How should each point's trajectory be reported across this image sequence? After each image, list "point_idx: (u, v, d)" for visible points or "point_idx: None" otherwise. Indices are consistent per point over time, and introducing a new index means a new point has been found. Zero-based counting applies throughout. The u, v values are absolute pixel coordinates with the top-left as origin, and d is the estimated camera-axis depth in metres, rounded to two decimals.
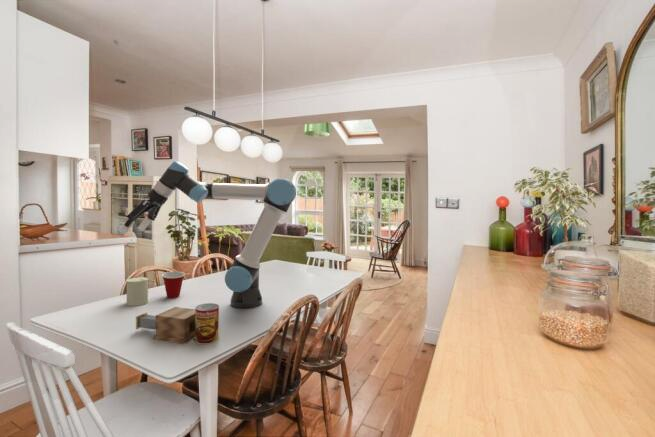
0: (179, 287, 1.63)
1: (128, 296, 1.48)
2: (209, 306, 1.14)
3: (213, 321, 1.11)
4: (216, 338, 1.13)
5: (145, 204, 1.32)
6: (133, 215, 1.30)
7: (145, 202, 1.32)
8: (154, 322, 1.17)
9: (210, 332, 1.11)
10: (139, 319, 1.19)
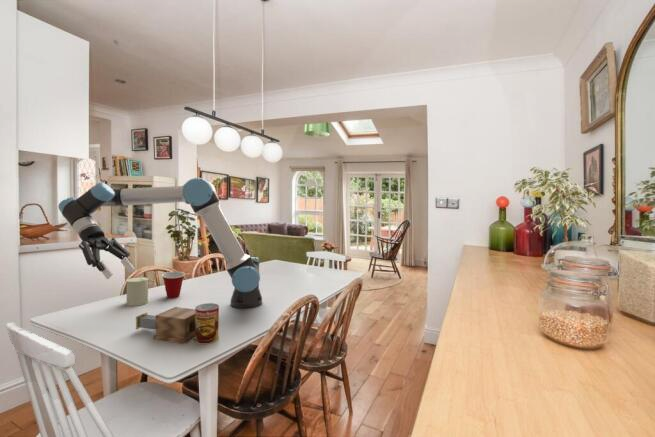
0: (179, 287, 1.63)
1: (128, 296, 1.48)
2: (209, 306, 1.14)
3: (213, 321, 1.11)
4: (216, 338, 1.13)
5: (82, 244, 1.18)
6: (88, 258, 1.15)
7: (81, 244, 1.18)
8: (154, 322, 1.17)
9: (210, 332, 1.11)
10: (139, 319, 1.19)
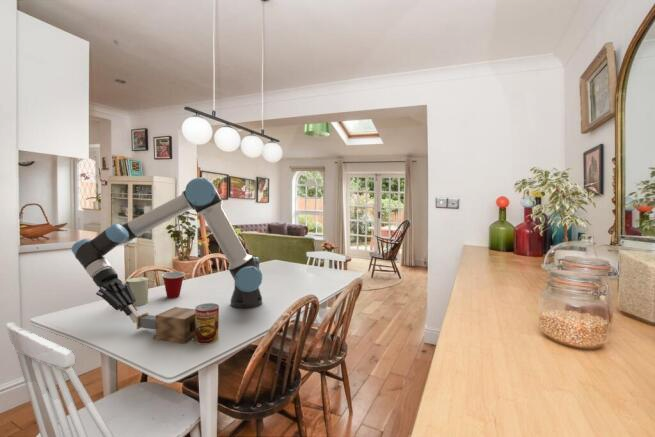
0: (179, 287, 1.63)
1: None
2: (209, 306, 1.14)
3: (213, 321, 1.11)
4: (216, 338, 1.13)
5: (102, 292, 1.17)
6: (115, 304, 1.17)
7: (99, 292, 1.16)
8: (155, 322, 1.17)
9: (210, 332, 1.11)
10: (140, 319, 1.18)
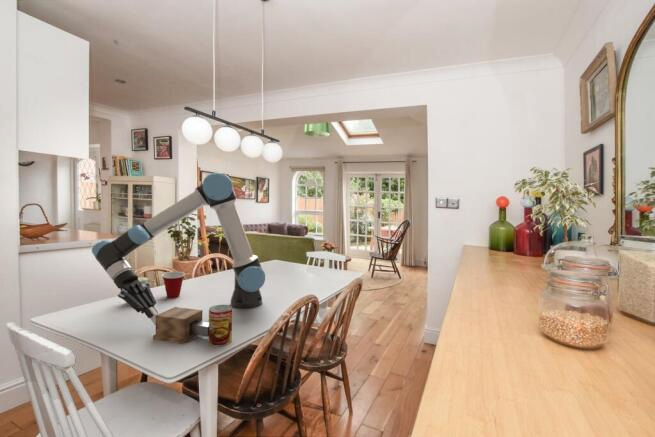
0: (179, 287, 1.63)
1: None
2: (222, 307, 1.13)
3: (227, 323, 1.10)
4: (229, 340, 1.12)
5: (123, 294, 1.15)
6: (137, 306, 1.16)
7: (121, 294, 1.15)
8: None
9: (224, 334, 1.09)
10: None
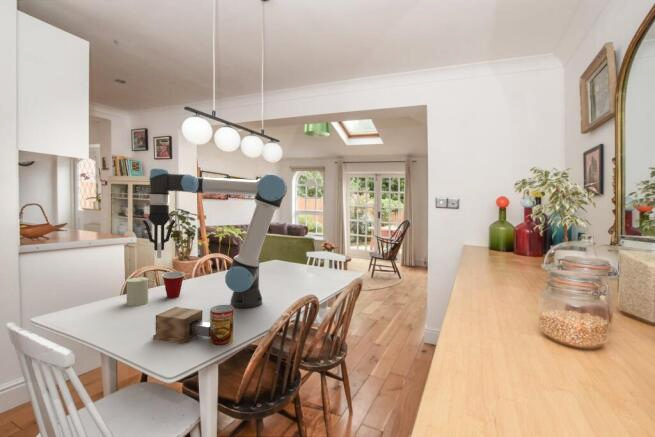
0: (179, 287, 1.63)
1: (128, 296, 1.48)
2: (224, 308, 1.13)
3: (228, 323, 1.10)
4: (231, 340, 1.11)
5: (144, 223, 1.35)
6: None
7: (143, 222, 1.36)
8: None
9: (225, 335, 1.09)
10: None
